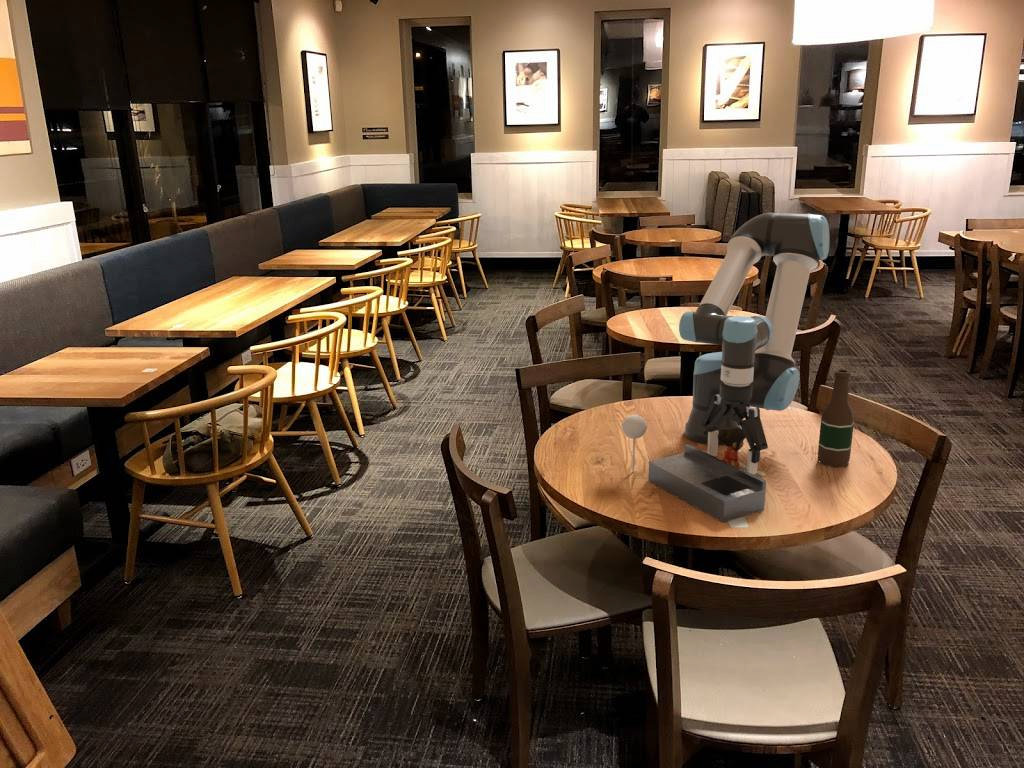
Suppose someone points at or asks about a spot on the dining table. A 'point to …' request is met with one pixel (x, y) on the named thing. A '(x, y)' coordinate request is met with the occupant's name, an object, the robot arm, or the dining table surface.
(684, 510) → the dining table surface
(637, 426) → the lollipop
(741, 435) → the figurine
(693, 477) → the grey box with compartment
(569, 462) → the dining table surface
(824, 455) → the beer bottle
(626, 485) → the dining table surface
